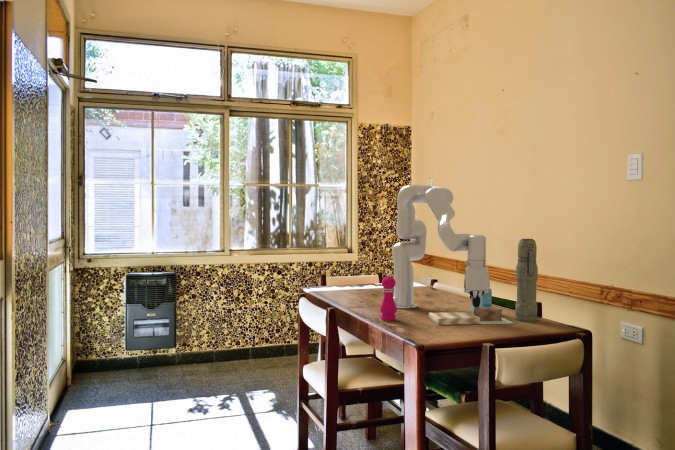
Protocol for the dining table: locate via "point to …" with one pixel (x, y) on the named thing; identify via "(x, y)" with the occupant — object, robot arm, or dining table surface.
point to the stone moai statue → (526, 281)
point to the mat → (497, 322)
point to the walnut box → (488, 313)
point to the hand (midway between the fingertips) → (476, 306)
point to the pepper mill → (388, 299)
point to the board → (454, 318)
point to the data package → (485, 300)
